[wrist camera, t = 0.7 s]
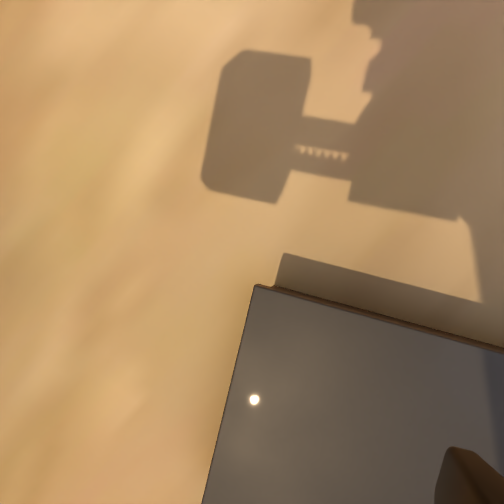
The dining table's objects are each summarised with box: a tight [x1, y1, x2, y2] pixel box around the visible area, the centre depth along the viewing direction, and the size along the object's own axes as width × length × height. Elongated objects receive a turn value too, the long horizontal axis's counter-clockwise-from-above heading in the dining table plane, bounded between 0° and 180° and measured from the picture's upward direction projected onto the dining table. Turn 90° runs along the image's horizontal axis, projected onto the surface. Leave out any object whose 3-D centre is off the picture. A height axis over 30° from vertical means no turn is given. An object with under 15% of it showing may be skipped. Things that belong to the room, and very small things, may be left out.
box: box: [201, 284, 504, 504], centre depth 20 cm, size 11×17×3 cm, turn 76°
